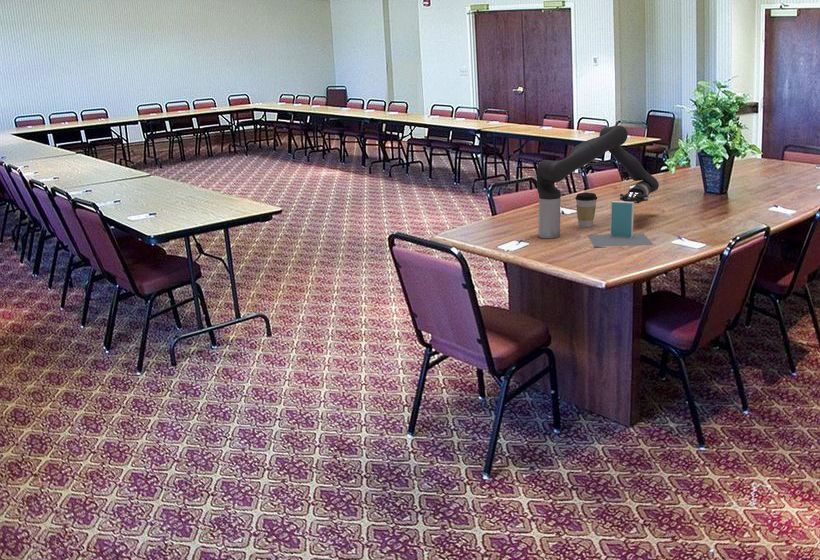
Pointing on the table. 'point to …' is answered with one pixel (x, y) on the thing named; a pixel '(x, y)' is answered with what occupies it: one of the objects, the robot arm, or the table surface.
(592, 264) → the table surface
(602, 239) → the mat
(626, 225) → the tile
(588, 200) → the coffee cup
